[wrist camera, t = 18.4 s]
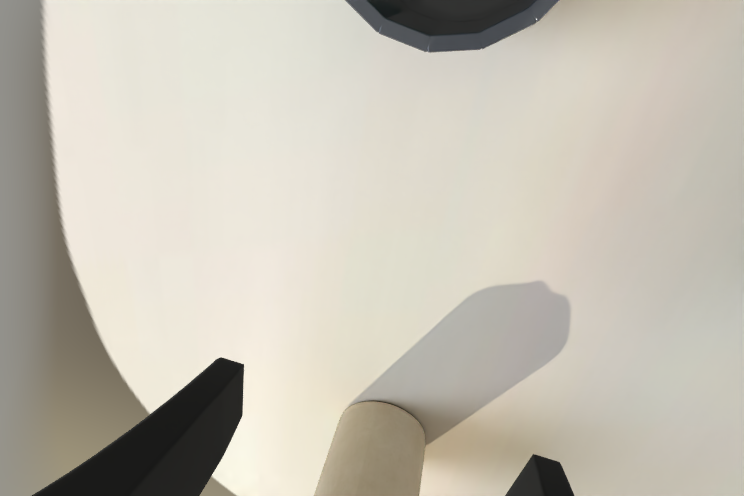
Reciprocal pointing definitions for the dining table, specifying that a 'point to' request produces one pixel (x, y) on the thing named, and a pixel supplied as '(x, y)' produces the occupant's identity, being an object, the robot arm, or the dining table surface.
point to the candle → (374, 453)
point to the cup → (450, 21)
